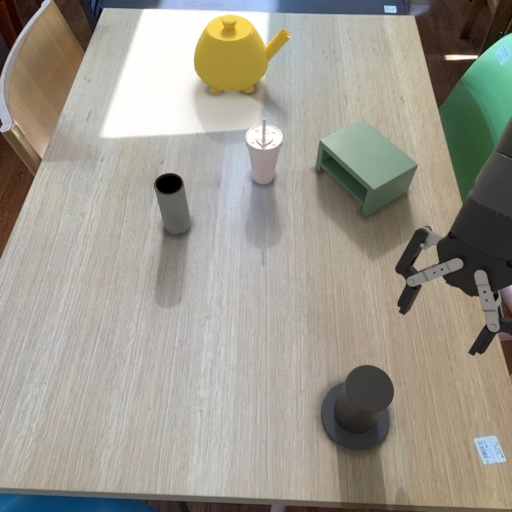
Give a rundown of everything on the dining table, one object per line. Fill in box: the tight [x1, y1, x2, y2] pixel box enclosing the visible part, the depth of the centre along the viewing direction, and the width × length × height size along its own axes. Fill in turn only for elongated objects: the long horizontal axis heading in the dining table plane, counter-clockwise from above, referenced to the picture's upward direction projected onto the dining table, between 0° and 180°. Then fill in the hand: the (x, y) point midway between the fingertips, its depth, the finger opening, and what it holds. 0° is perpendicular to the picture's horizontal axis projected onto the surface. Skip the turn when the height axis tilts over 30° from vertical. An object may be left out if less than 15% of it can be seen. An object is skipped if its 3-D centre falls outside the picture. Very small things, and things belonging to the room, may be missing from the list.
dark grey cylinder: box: [334, 364, 395, 434], centre depth 59 cm, size 6×6×10 cm
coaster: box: [320, 381, 390, 451], centre depth 63 cm, size 9×9×1 cm
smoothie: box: [244, 116, 284, 185], centre depth 82 cm, size 6×6×14 cm
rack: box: [315, 118, 419, 217], centre depth 84 cm, size 14×10×7 cm
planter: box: [153, 172, 192, 236], centre depth 77 cm, size 4×4×10 cm
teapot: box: [193, 14, 292, 95], centre depth 98 cm, size 20×16×14 cm
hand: (436, 331), depth 55 cm, fingers open, 8 cm apart
